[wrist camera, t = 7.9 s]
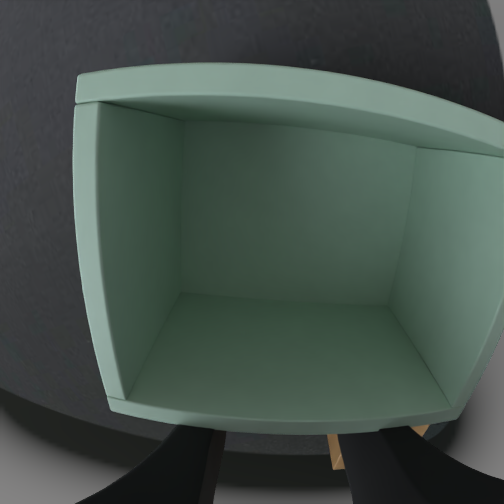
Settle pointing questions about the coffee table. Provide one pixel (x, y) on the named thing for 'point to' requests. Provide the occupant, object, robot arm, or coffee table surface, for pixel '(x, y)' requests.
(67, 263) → the coffee table surface
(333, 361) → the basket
